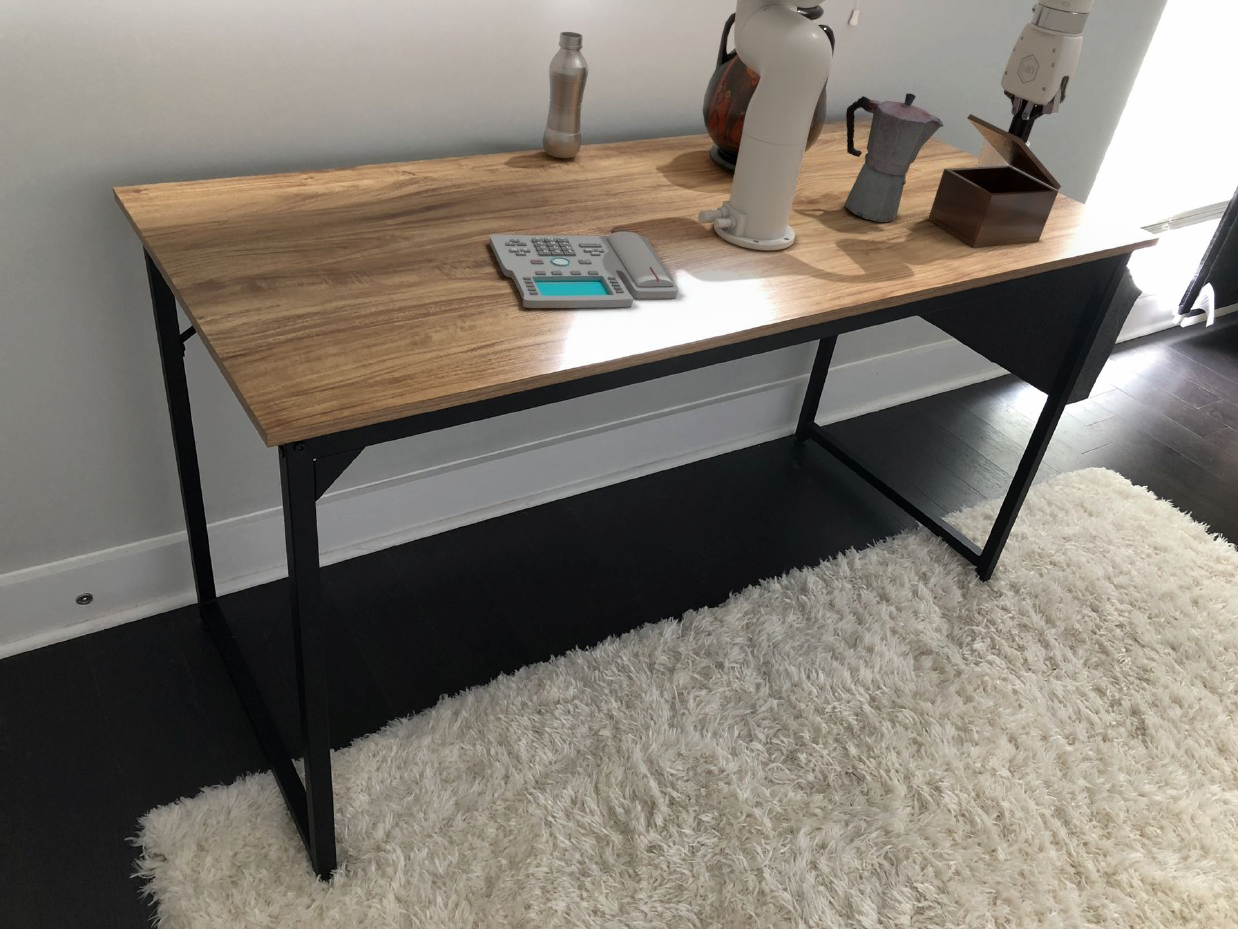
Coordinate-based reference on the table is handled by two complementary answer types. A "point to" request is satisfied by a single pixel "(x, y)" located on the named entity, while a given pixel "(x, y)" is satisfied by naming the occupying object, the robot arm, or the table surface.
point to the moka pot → (886, 154)
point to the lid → (1014, 151)
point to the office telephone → (583, 269)
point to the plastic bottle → (566, 97)
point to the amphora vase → (745, 98)
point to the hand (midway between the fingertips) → (1015, 141)
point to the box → (992, 205)
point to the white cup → (991, 156)
